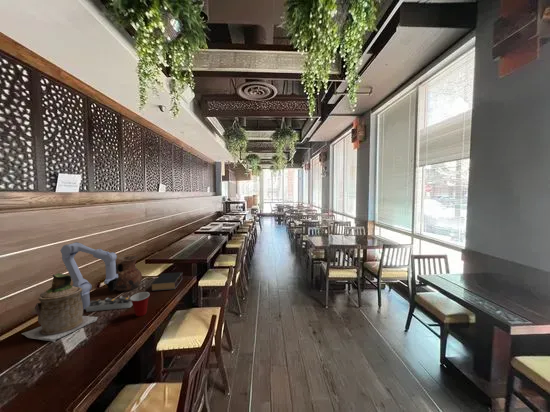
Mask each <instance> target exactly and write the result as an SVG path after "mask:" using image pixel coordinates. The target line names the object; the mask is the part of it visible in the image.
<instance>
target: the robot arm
mask: <svg viewBox="0 0 550 412" xmlns="http://www.w3.org/2000/svg"><path fill="white" fill-rule="evenodd" d="M79 252H82V253H86V254H89V255H92V257H94V258H95V259H97V260H98V259H99V260H101V261H103V262H104V265H105V280H104V281H103V283H104V284H105V285H106V286H107V288H108V291H109V292H114V291H115V290H116V289H115V285H116V282H117V280H118V279H115V278H118V274H116V262H115V260H116V259H118V255H117V253H116V252H114V251H112V252H109V251H106V250H103V249H102V248H97V249H94V248H92V247H89V246H87V245H85V244H83V243H80V242H77V241H76V242H73V243H69V244H64V245H62V247H61V249H60V253H61V259H62V261H63V264H64V265H65V269H66V271H67V272H68V275H69V276H71V282H72V283H73V284H72V285H71V286H74V287H80V288H82V292H81V293H80V294H81V299H82V303H83V311H84V310H86V306H88V305H89V304H90V302H91V299H90V298H91V297H90V291H91V290H92V287H93V286H92V284H91V283H90V282H89V281H88V279H85V278H84V277H83V274H82V273H81V271H80V268H79V266H78V264H77V262H76V260H75V256H76V255H77V254H78V253H79Z"/></svg>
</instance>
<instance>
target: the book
mask: <svg viewBox="0 0 550 412" xmlns="http://www.w3.org/2000/svg"><path fill="white" fill-rule="evenodd" d="M183 275H184V273H183V271H178V272H165V273H164V272H162V273H161V274H160V275H159V276H158V277H157V278H155V280H154V281H153V282H152V283H151V292H152V291H153V292H157V291H168V290H176V288H178V287H179V284H180V283H181V282H182V280H183V279H184V278H183Z"/></svg>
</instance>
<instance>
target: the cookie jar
mask: <svg viewBox="0 0 550 412" xmlns="http://www.w3.org/2000/svg"><path fill="white" fill-rule="evenodd" d="M52 277H53V278H52V282H51V287H50V288H49V289H47V290H46V291H44V292H41V293H40V295H39V297H38V301H39V302H37V303H36V304H35V306H34V310H35V313H36V315H37V323H38V324H39V325H41V326H37V327H35V328H33V329H30V330H28V331H25V332H23V333H21V335H23V336H25V337H26V338H28V339H34V340H39V341H40V340H41V341H46V342H47V341H48V342H52V343H56V341H57V340H59V339H62V338H63V337H65V336H68V335H69V334H72V333H73V332H75V331H77V330H79V329H82V328H83V327H85V326H88V325H90V324H92V323H94V322H97V320H98V316H88V315H84V310H83V303H82V299H81V294H80V293H81V292H82V288H80V287H74V286H72V285H71V283H72V279H71V276H70V274H64V273H56V274H52Z"/></svg>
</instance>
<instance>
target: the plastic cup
mask: <svg viewBox="0 0 550 412" xmlns="http://www.w3.org/2000/svg"><path fill="white" fill-rule="evenodd" d="M150 295H151V294H150V292H148V291H142V292H138V293H135V294H133V295H132V296H129V298H130V300H131V301H132V304H133V305H132V306H133V309H134V313H135V316H136V317H143V316H145V315H146V314H147V312H148V305H149V304H148V303H149V297H150Z"/></svg>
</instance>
